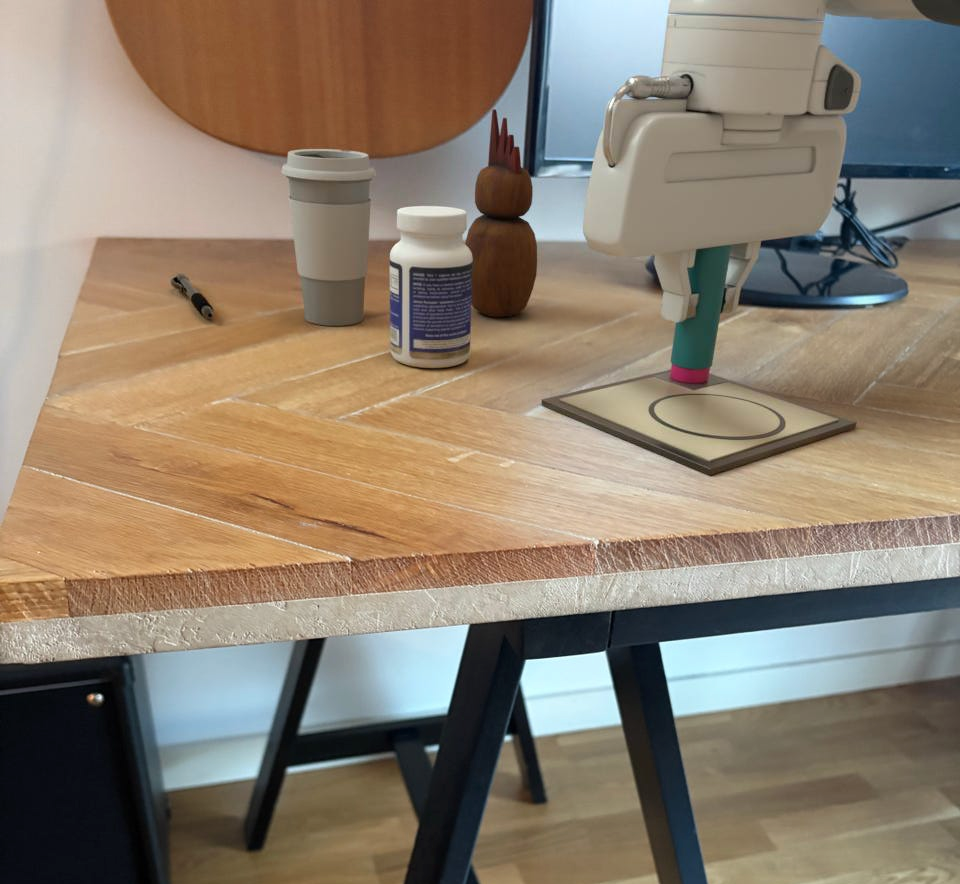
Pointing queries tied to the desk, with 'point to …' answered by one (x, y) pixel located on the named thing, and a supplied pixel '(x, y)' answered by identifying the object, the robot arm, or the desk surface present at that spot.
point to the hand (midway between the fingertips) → (698, 315)
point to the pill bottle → (430, 288)
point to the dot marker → (701, 317)
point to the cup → (330, 231)
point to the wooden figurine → (502, 230)
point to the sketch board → (699, 419)
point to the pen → (193, 295)
